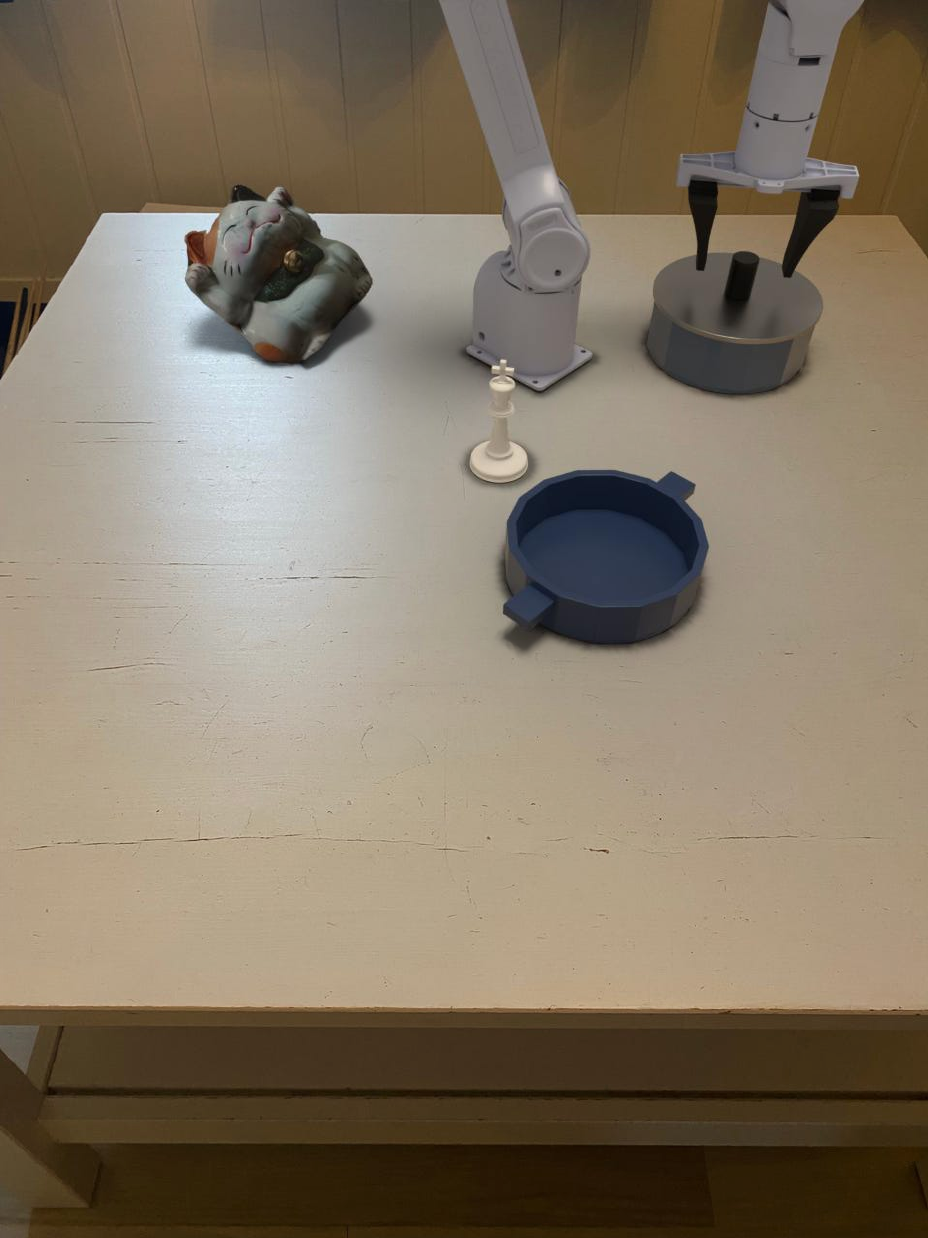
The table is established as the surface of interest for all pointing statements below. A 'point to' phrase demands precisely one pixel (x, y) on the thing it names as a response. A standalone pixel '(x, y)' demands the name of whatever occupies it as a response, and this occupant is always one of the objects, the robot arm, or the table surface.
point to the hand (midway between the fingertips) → (742, 268)
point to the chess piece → (499, 435)
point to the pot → (723, 358)
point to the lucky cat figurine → (274, 274)
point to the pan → (604, 555)
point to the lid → (737, 298)
